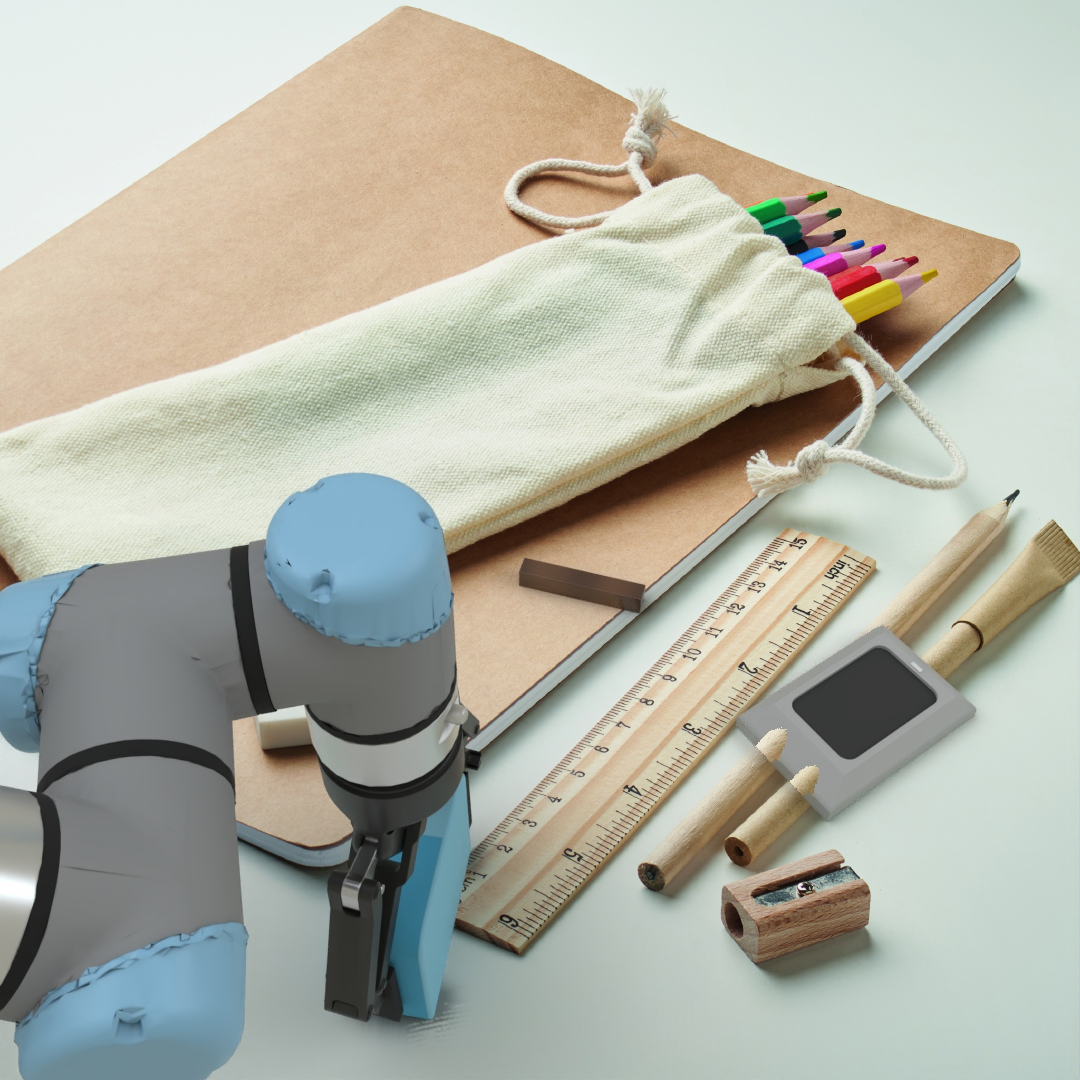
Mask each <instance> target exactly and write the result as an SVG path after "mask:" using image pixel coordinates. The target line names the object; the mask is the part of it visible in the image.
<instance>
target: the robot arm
mask: <svg viewBox="0 0 1080 1080" xmlns="http://www.w3.org/2000/svg"><path fill="white" fill-rule="evenodd" d="M454 605H455V593H454V591H453V585H452V578H451V573H450V566H449V560H448V554H447V548H446V541H445V535H444V529H443V527H442V525H441V523H440V521H439V518H438V516H437V515H436V513H435V510H434V509H433V507H432V506H431V505H430V504H429V502H428V501H427V500H426V499H425V498H424V497H423V496H422V495H421V494H420V493H419V492H418V491H416V490H415V489H413V488H412V487H411V486H409V485H407V484H406V483H404V482H402V481H400V480H398V479H396V478H395V479H394V478H392V477H389V476H387V475H386V476H385V475H381V474H378V473H377V474H376V473H370V472H345V473H344V472H343V473H338V474H333V475H329V476H325V477H321V478H319V479H318V480H317V482H316V483H315V484H313V485H312V486H310V487H309V488H307V489H305V490H303V491H299V490H297V491H295V492H294V493H292V494H291V495H289V496H288V497H287V498H286V499H285V500H284V501H283V502H282V503H281V505H280V506H279V507H278V508H277V510H275V513H274V515H273V516H272V518H271V520H270V522H269V524H268V526H267V530H266V536H265V538H263V539H257V540H253V541H249V543H247V544H241V545H235V546H232V547H226V548H219V549H213V550H206V551H197V552H191V553H184V554H182V553H181V554H176V555H168V556H162V557H155V558H147V559H146V558H145V559H139V560H132V561H131V560H130V561H123V562H113V563H100V562H97V563H92V564H91V563H90V564H84V565H82V566H81V567H79V568H75V569H69V570H64V571H59V572H54V573H49V574H44V575H42V576H40V577H36V578H32V579H27V580H23V581H19V582H16V583H15V582H14V583H12V584H10V585H8V586H6V587H4V589H2V590H1V591H0V734H1V736H2V737H3V738H4V740H5V741H6V742H7V744H9V745H10V746H11V747H12V748H14V749H15V750H17V751H19V752H21V753H25V754H26V753H27V754H38V764H37V766H38V767H37V781H36V791H31V790H26V789H22V788H18V787H17V788H16V787H12V786H6V785H2V784H0V1021H5V1022H10V1023H14V1024H15V1026H14V1027H15V1029H14V1036H13V1037H14V1038H13V1043H14V1044H15V1045H16V1046H17V1048H18V1051H17V1065H18V1072H19V1074H20V1076H21V1078H22V1080H207V1079H208V1078H209V1077H210V1076H211V1075H212V1073H214V1072H215V1071H216V1070H219V1069H220V1068H222V1067H223V1066H225V1065H226V1064H227V1063H228V1062H229V1061H230V1060H231V1058H232V1057H233V1056H234V1054H235V1053H236V1051H237V1050H238V1047H239V1046H240V1044H241V1042H242V1039H243V1034H244V1030H245V1016H246V1015H245V1014H246V1011H245V1010H246V982H247V981H246V980H247V979H246V975H247V946H248V941H249V937H250V935H249V932H248V930H247V927H246V926H245V921H244V920H245V919H244V908H243V907H244V906H243V895H242V883H241V880H242V879H241V869H240V867H241V866H240V856H239V855H240V854H239V841H238V840H239V839H238V828H237V817H236V816H237V815H236V805H237V800H236V799H237V797H236V795H237V793H236V772H235V771H236V769H235V750H234V747H235V746H234V725H233V721H234V722H235V721H239V720H243V719H249V718H251V717H252V718H253V717H256V716H260V715H265V714H272V713H276V712H278V710H284V709H290V708H295V707H301V706H303V708H304V712H305V716H306V721H307V722H306V723H307V727H308V730H309V735H310V739H311V744H312V746H313V748H314V749H315V755H316V758H317V763H318V766H319V770H320V774H321V778H322V782H323V786H324V788H325V791H326V793H327V795H328V796H329V797H328V798H330V800H331V801H332V803H333V804H334V805H335V807H337V809H338V810H339V811H340V812H341V813H342V814H343V815H344V816H345V817H346V818H347V819H348V820H349V821H350V825H351V826H352V836H351V841H350V847H349V854H348V859H347V868H348V872H346V871H343V870H339V869H333V871H331V873H330V874H329V877H328V879H327V883H326V884H327V886H326V892H327V897H328V904H329V920H328V921H329V922H328V924H329V925H328V939H327V952H326V953H327V954H326V970H325V987H324V1000H323V1009H324V1011H327V1012H328V1013H329V1012H330V1013H333V1014H336V1015H340V1016H343V1017H345V1018H349V1019H352V1020H356V1021H359V1022H363V1023H366V1024H367V1023H368V1022H369V1021H371V1017H372V1016H377V1017H380V1018H383V1019H386V1020H390V1021H393V1022H396V1023H400V1022H401V1019H402V1016H403V1015H402V1014H403V1011H404V1009H403V1005H402V1000H401V995H400V991H399V986H398V981H397V977H396V972H395V968H394V967H391V966H389V960H390V955H391V949H392V943H393V937H394V931H395V925H396V919H397V914H398V908H399V902H400V896H401V890H402V886H403V885H404V884H405V883H406V882H407V881H408V879H409V878H410V877H411V875H412V874H413V872H414V867H415V861H416V855H417V849H418V844H419V838H420V837H421V836H422V835H423V833H424V832H425V829H426V824H427V818H428V817H430V816H431V815H433V814H434V813H436V812H437V811H438V810H440V809H441V808H442V807H443V806H444V805H445V804H446V803H447V802H448V801H449V800H450V798H451V797H452V796H453V794H454V793H455V791H456V790H457V788H458V786H459V784H460V781H461V778H462V775H463V774H464V775H465V778H466V791H467V804H468V817H469V830H471V826H472V824H473V817H472V815H473V814H472V803H471V790H470V789H471V788H470V778H469V771H466V769H470V770H472V771H479V769H480V767H481V764H482V761H483V751H479V750H474V749H471V748H468V747H467V743H468V739H469V738H470V739H473V740H475V739H476V737H477V736H478V735H479V734H480V731H481V725H480V720H479V718H477V717H476V716H475V714H473V713H472V712H471V711H470V709H468V707H466V705H464V704H463V703H462V702H461V697H460V690H459V685H458V684H459V683H458V681H459V680H458V663H457V649H456V646H457V645H456V631H455V630H456V629H455V615H454V614H455V611H454ZM401 852H402V858H401V863H400V862H396V861H393V860H389V858H391V857H393V856H395V855H397V854H399V853H401Z"/></svg>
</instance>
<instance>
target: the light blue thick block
mask: <svg viewBox="0 0 1080 1080" xmlns="http://www.w3.org/2000/svg"><path fill="white" fill-rule="evenodd" d="M470 831H471V830H470V829H469V817H468V804H467V791H466V778H465V775H464V774H463V775H462V778H461V781H460V784H459V786H458V788H457V790H456V791H455V793H454V794H453V796H452V797H451V798H450V800H449V801H448V802H447V803H446V804H445V805H444V806H443V807H442V808H441V809H440V810H438V811H437V812H436V813H434V814H433V815H431V816H430V817H428V818H427V824H426V829H425V832H424V833H423V835H422V836H421V837H420V838H419V844H418V849H417V855H416V861H415V867H414V872H413V874H412V875H411V877H410V878H409V879H408V881H407V882H406V883H405V884H404V885H403V886H402V890H401V896H400V902H399V908H398V914H397V919H396V925H395V931H394V937H393V943H392V949H391V955H390V960H389V966H391V967H394V968H395V972H396V977H397V981H398V986H399V991H400V995H401V1000H402V1005H403V1009H404V1011H403V1014H402V1016H406V1017H412V1018H418V1019H423V1020H432V1019H433V1018H434V1017H435V1015H436V1009H437V1005H438V999H439V997H440V992H441V987H442V984H443V983H442V982H443V978H444V974H445V973H444V972H445V968H446V964H447V960H448V955H449V950H450V945H451V942H452V936H453V932H454V927H455V924H456V920H457V919H456V918H457V914H458V909H459V904H460V900H461V895H462V891H463V886H464V883H465V882H464V881H465V877H466V872H467V868H468V863H469V859H470V854H471V848H472V845H471V833H470ZM401 858H402V852H401V853H399V854H397V855H395V856H393V857H391V858H389V860H393V861H396V862H400V863H401Z"/></svg>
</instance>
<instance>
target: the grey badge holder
mask: <svg viewBox="0 0 1080 1080" xmlns="http://www.w3.org/2000/svg"><path fill="white" fill-rule="evenodd" d="M881 625H882V626H881ZM881 625H879V626H880V627H879V626H877V627H874V628H873V629H871V630H869V631H870V632H869V631H868V632H869V633H868V632H867V634H866V633H865V634H863V635H861V636H860V637H859V638H857V639H855V640H854V641H852V642H851V643H849V644H848V645H846V646H844V647H843V648H841V649H840V650H838V651H837V652H835V653H833V654H832V655H830V656H829V657H828V658H826V659H825V660H823V661H821V662H820V663H819V664H817V665H815V666H813V667H812V668H810V669H809V670H807V671H806V672H804V673H803V674H801V675H799V676H798V677H796V678H795V679H793V680H792V681H790V682H789V683H787V684H785V685H784V686H783V687H781V688H780V689H778V690H776V691H775V692H773V693H772V694H770V695H768V696H767V697H765V698H764V699H763V700H760V701H759V702H758V703H756V704H754V705H753V706H751V707H750V708H748V709H747V710H745V711H744V712H742V713H741V714H739V715H737V717H736V720H735V725H734V726H735V727H736V728H737V729H738V730H739V731H740V733H742V734H743V736H744V737H745V738H746V739H747V740H748V741H749V742H750V743H751V744H752V745H753V746H754V747H755V746H756V745H757V744H758V742H760V740H761V739H762V738H763V737H764V736H765V735H766V734H767V733H768V732H769V731H771V730H775V729H777V728H778V729H779V728H780V729H787V730H785V731H787V735H786V736H787V740H786V743H785V747H783V751H782V753H781V755H780V760H779V761H780V762H779V761H778V760H777V759H775V760H774V761H773V763H770V764H771V765H772V766H773V767H774V768H775V769H776V770H777V771H778V772H779V773H780V774H781V775H782V776H783V778H785V780H786V781H787V782H788V783H789V781H790V780H792V779H793V778H794V776H795V775H796V774H798V773H799V771H800V770H802V769H804V768H805V767H806V766H808V767H809V766H814V765H816V766H815V767H818V768H819V771H818V772H819V776H818V777H817V778H818V780H817V784H815V788H814V793H813V796H814V797H813V796H812V795H811V794H810V793H809V792H808V793H807V794H805V796H802V798H803V799H805V800H806V802H807V803H808V804H809V805H810V806H811V807H812V808H813V809H814V810H815V811H816V812H817V813H818V815H820V816H821V817H822V819H823V820H825V822H829V821H830V820H831V819H833V818H834V817H836V816H837V815H839V814H840V813H841V812H843V811H844V810H845V809H847V808H848V807H850V806H851V805H852V804H854V803H855V802H856V801H858V800H859V799H861V798H862V797H864V796H865V795H866V794H868V793H869V792H870V791H872V790H874V789H875V788H876V787H877V786H879V785H881V784H882V783H883V782H884V781H886V780H887V779H889V778H890V777H892V776H893V775H894V774H896V773H897V772H898V771H900V770H901V769H902V768H904V767H905V766H907V765H908V764H910V763H911V762H912V761H913V760H915V759H916V758H918V757H919V756H922V754H924V753H925V752H927V750H929V749H930V748H932V747H933V746H935V745H936V744H937V743H939V742H940V741H942V740H943V739H944V738H946V737H948V736H949V735H950V734H951V733H953V732H954V731H956V730H957V729H959V728H960V727H961V726H963V725H964V724H965V723H967V722H968V721H970V720H972V718H974V717H975V715H976V713H977V707H976V706H975V705H974V704H973V703H972V702H971V701H970V700H968V699H967V698H966V697H965V696H963V694H961V693H960V692H959V690H957V689H956V688H955V687H954V686H952V685H951V684H950V683H949V682H948V681H947V680H946V679H945V678H944V677H942V676H941V675H940V674H939V673H938V672H937V671H935V669H934V668H933V667H931V666H930V665H929V664H928V663H927V662H925V661H924V660H923V658H921V657H920V656H919V655H918V654H916V653H915V651H913V650H912V649H911V648H910V647H909V646H908V645H906V643H904V641H902V640H901V639H900V638H899V637H898V636H896V634H894V633H893V632H892V631H891V630H890V629H889V628H887V627H886V626H885V624H881ZM781 727H782V728H781Z"/></svg>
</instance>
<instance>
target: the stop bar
mask: <svg viewBox="0 0 1080 1080" xmlns="http://www.w3.org/2000/svg"><path fill="white" fill-rule="evenodd" d="M518 586H519V587H522V588H527V589H530V590H535V591H540V592H544V593H549V594H552V595H556V596H562V597H566V598H570V599H574V600H579V601H583V602H587V603H591V604H596V605H601V606H605V607H609V608H614V609H618V610H621V611H627V612H631V613H636V614H640V613H641V610H642V608H643V603H644V601H645V593H646V584H643V583H639V582H634V581H630V580H626V579H622V578H617V577H612V576H607V575H604V574H599V573H595V572H590V571H587V570H586V571H585V570H581V569H576V568H574V567H573V568H572V567H568V566H565V565H564V566H563V565H559V564H555V563H550V562H546V561H542V560H537V559H532V558H529V557H524V558H523V560H522V563H521V565H520V568H519V569H518Z"/></svg>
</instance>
